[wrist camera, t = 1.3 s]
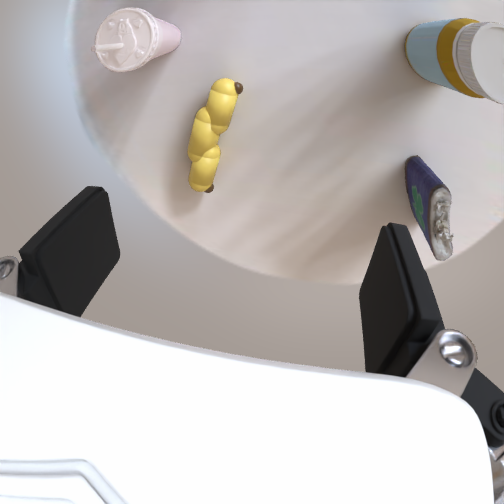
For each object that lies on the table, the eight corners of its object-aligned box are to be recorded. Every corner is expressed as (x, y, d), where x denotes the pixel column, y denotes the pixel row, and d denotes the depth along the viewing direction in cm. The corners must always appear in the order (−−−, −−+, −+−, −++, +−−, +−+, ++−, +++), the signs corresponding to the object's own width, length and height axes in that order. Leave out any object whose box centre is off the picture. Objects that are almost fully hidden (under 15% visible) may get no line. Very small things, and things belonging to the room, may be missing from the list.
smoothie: (140, 63, 31) (63, 82, 20) (143, 14, 27) (66, 11, 16) (190, 64, 30) (126, 79, 19) (195, 12, 27) (132, -1, 15)
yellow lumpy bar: (211, 72, 31) (202, 74, 28) (247, 82, 31) (241, 85, 28) (184, 178, 39) (175, 189, 37) (215, 189, 40) (208, 200, 37)
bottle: (451, 90, 27) (525, 125, 15) (397, 69, 27) (455, 87, 15) (463, 38, 22) (544, 47, 10) (408, 14, 23) (472, -1, 11)
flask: (431, 218, 37) (458, 270, 28) (411, 222, 38) (434, 276, 29) (422, 152, 32) (457, 192, 23) (400, 157, 33) (429, 198, 24)
